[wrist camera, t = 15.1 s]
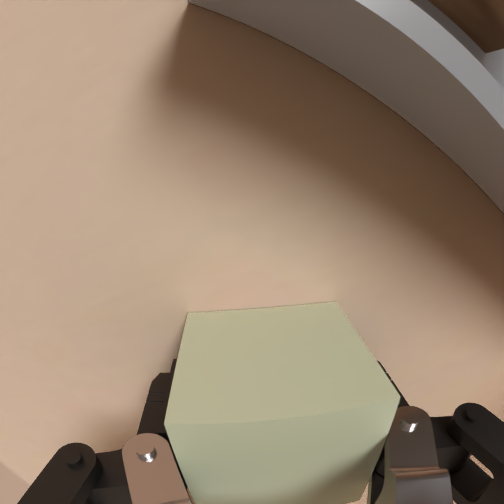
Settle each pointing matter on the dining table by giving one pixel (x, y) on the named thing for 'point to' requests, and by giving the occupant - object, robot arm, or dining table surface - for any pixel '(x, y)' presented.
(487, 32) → the walnut block
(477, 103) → the tray
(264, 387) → the sage block
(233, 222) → the dining table surface
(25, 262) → the dining table surface
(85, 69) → the dining table surface
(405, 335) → the dining table surface
